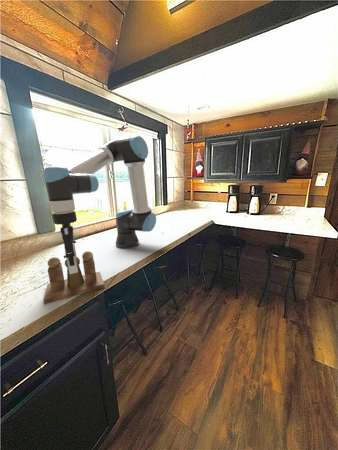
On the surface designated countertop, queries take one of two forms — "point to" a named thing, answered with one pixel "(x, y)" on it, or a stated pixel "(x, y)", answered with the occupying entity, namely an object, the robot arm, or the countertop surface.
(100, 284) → the wooden peg board
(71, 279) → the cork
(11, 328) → the countertop surface
